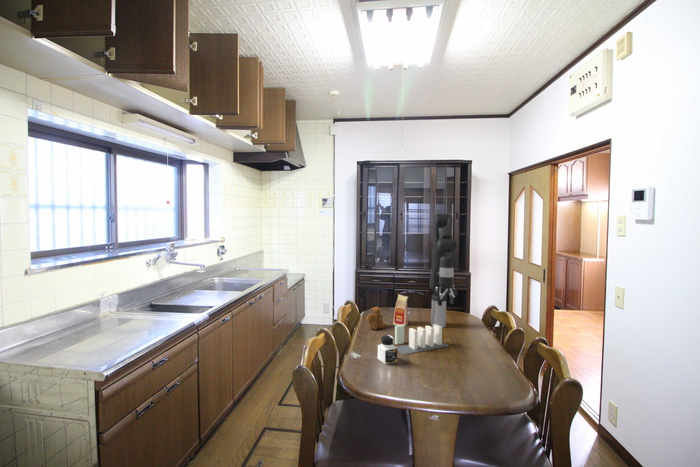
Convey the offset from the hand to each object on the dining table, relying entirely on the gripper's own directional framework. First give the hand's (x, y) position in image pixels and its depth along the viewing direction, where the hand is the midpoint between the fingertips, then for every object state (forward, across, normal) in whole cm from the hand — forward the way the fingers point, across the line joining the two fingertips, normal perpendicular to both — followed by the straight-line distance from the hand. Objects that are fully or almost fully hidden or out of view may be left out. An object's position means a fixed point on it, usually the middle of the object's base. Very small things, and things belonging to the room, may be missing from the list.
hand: (445, 304), depth 171 cm
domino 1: (+23, +20, -15) cm, 34 cm away
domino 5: (+23, +1, -5) cm, 24 cm away
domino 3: (+23, +12, -6) cm, 27 cm away
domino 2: (+23, +18, -6) cm, 30 cm away
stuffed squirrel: (+24, +18, -44) cm, 53 cm away
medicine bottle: (+24, +38, +1) cm, 45 cm away
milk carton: (+24, -2, -44) cm, 50 cm away
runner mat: (+23, +12, -6) cm, 27 cm away
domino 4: (+23, +7, -5) cm, 25 cm away
